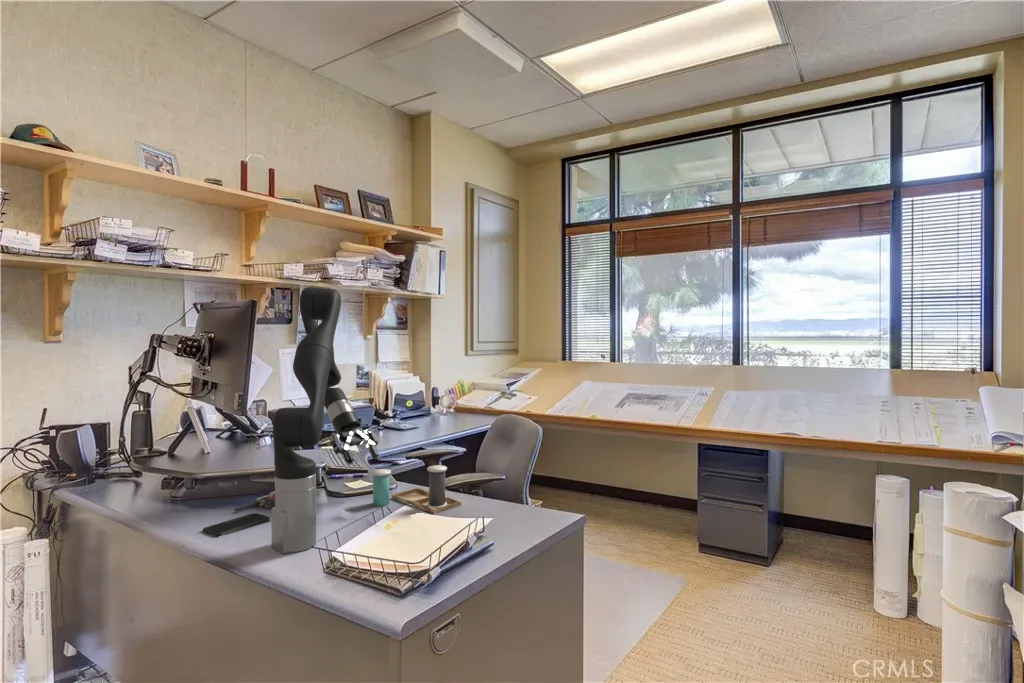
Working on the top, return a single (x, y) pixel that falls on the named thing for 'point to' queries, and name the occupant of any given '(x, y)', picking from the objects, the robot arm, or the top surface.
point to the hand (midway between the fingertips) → (364, 460)
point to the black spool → (436, 486)
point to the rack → (424, 500)
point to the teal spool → (381, 487)
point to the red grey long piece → (261, 502)
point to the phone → (236, 524)
